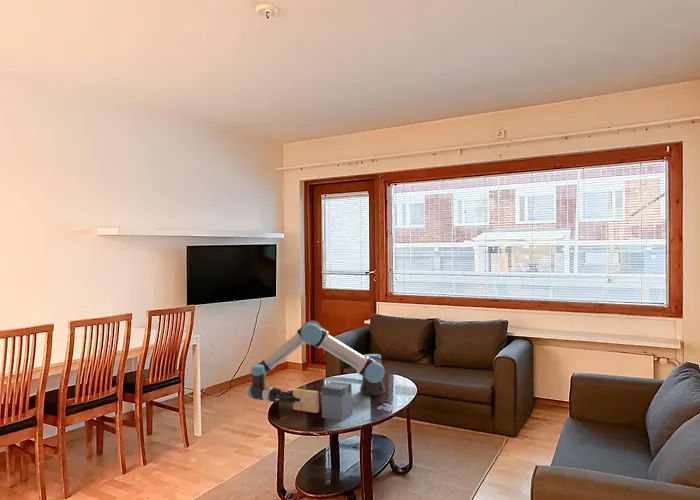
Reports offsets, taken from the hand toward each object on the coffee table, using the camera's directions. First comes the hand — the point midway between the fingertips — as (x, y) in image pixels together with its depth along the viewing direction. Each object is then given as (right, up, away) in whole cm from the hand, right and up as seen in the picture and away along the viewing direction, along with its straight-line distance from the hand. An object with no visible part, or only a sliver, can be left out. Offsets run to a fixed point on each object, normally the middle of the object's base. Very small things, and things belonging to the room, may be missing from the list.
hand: (307, 399), depth 271 cm
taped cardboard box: (-1, -6, 0) cm, 6 cm away
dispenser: (+17, -6, -9) cm, 20 cm away
